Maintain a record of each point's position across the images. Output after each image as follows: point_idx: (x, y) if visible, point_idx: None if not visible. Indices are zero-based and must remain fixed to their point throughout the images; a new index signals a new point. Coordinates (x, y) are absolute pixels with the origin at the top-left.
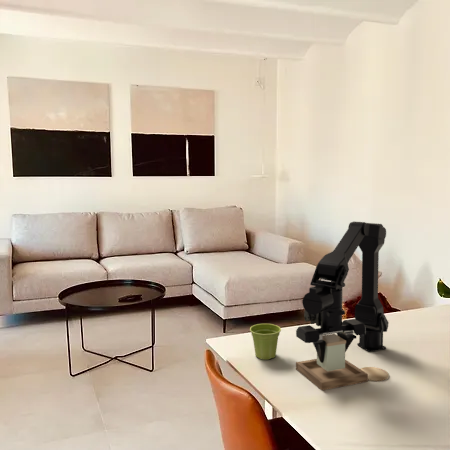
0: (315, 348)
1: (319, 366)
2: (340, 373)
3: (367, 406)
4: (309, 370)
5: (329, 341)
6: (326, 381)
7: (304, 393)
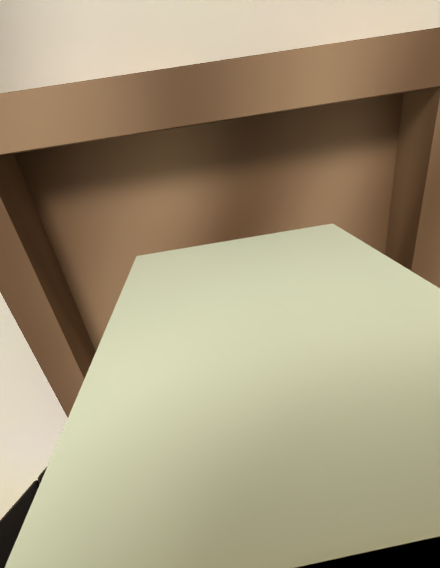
0: (12, 515)
1: (199, 153)
2: None
3: None
4: (48, 328)
5: None
6: None
7: (11, 447)
